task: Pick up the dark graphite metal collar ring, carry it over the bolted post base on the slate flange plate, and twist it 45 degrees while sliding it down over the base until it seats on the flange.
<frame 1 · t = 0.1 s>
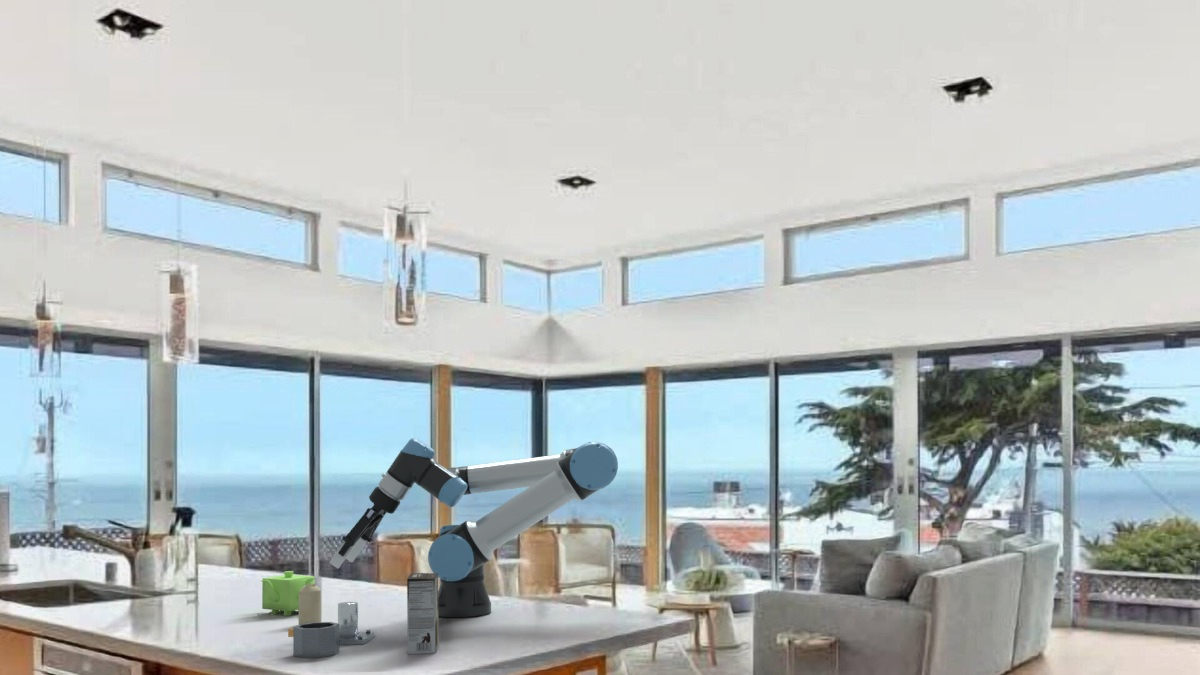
hand: (340, 562, 275), 15 cm above the counter, tool tilted 35°, fingers open, 13 cm apart
candle: (309, 625, 275), on the counter
bolted post base: (348, 640, 250), on the counter
collar: (316, 653, 235), on the counter
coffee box: (423, 650, 237), on the counter
kettle: (287, 614, 295), on the counter
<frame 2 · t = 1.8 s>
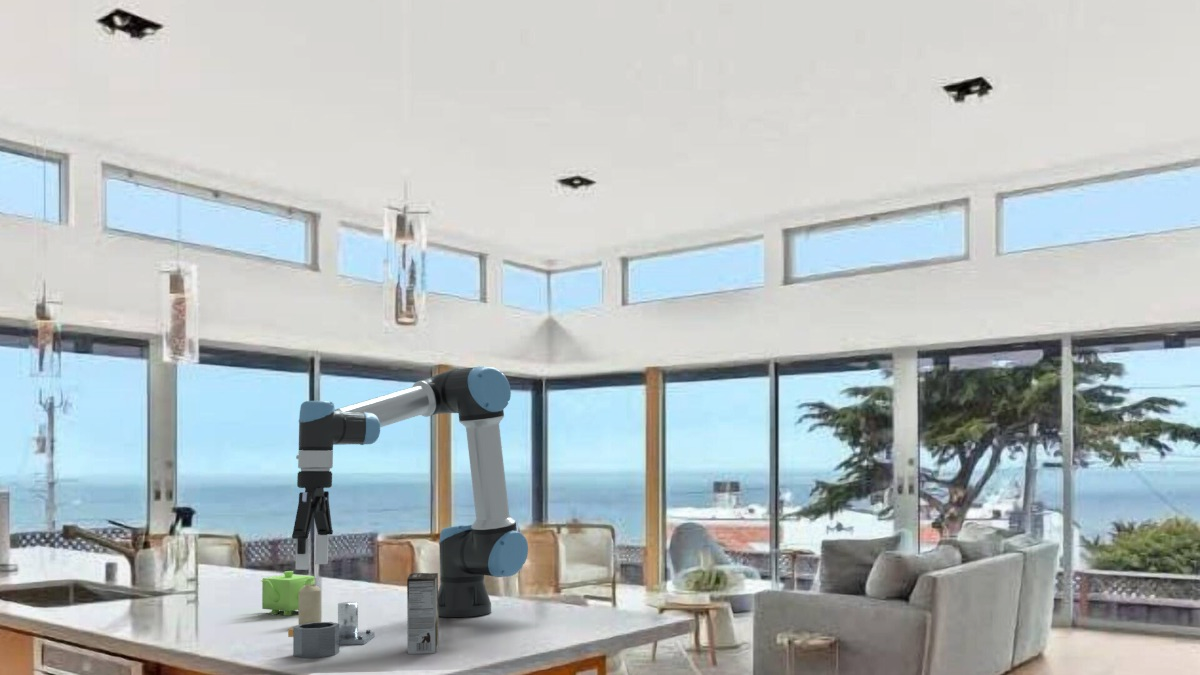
hand: (312, 566, 239), 18 cm above the counter, tool pointing down, fingers open, 13 cm apart
nothing on the counter moved.
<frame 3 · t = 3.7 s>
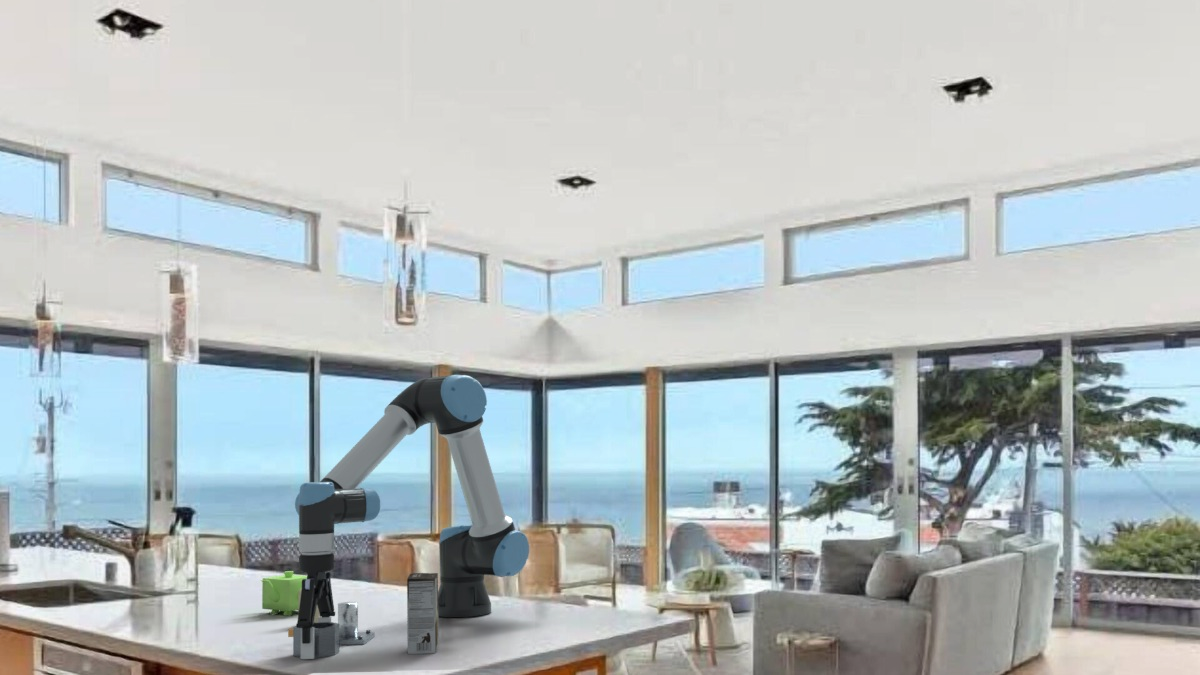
hand: (316, 652, 235), 0 cm above the counter, tool pointing down, fingers open, 12 cm apart
nothing on the counter moved.
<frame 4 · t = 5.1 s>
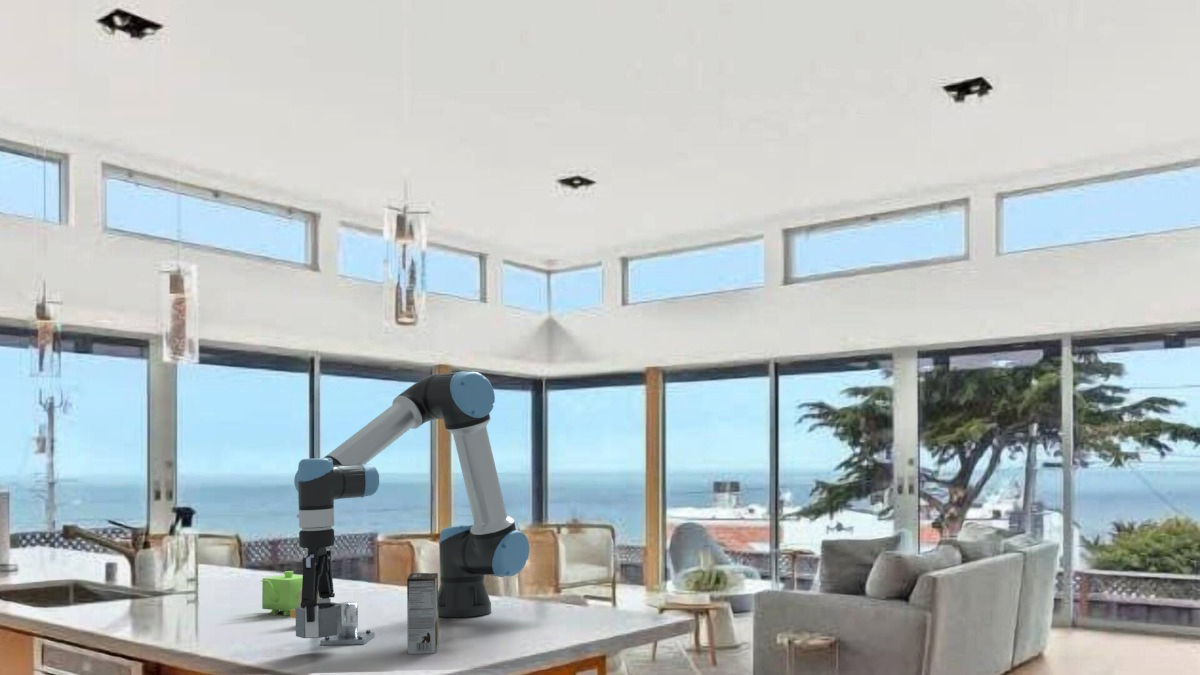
hand: (318, 632, 236), 4 cm above the counter, tool pointing down, fingers closed on collar, 9 cm apart
collar: (319, 633, 236), point 4 cm above the counter, touching gripper
everything else where it was.
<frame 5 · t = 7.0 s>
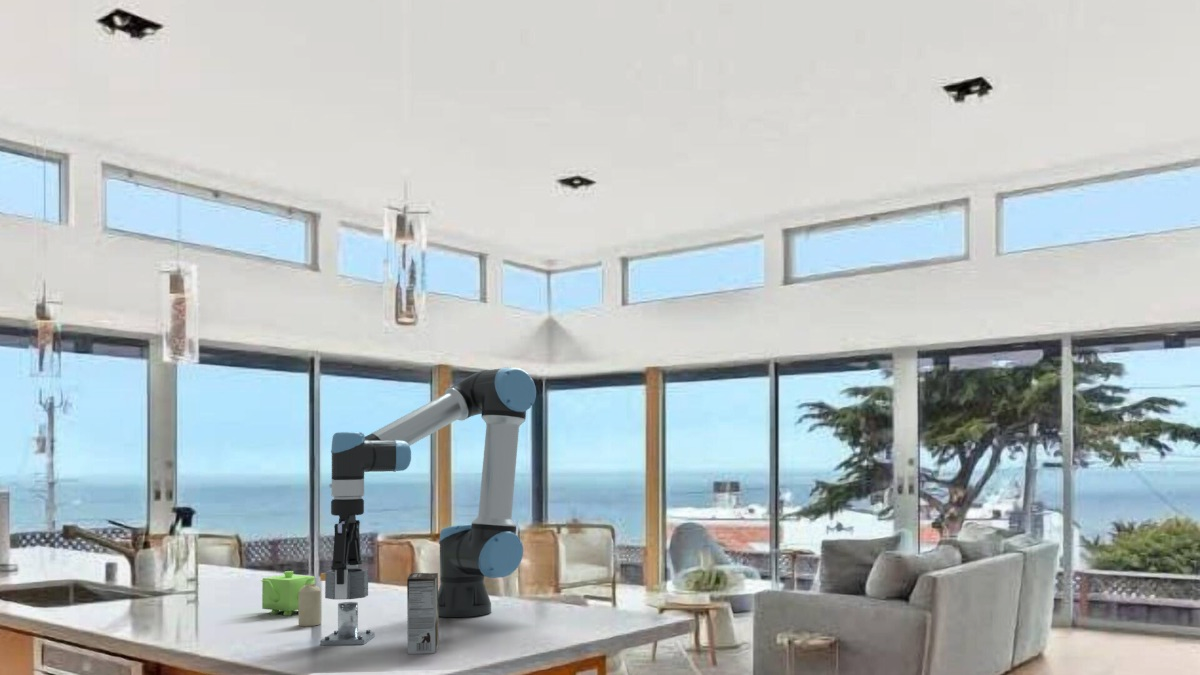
hand: (346, 595, 251), 10 cm above the counter, tool pointing down, fingers closed on collar, 9 cm apart
collar: (346, 596, 251), point 10 cm above the counter, touching gripper
everything else where it was.
when the fingers open (2 cm above the counter, at t = 9.1 s): collar drops 1 cm, resting on bolted post base.
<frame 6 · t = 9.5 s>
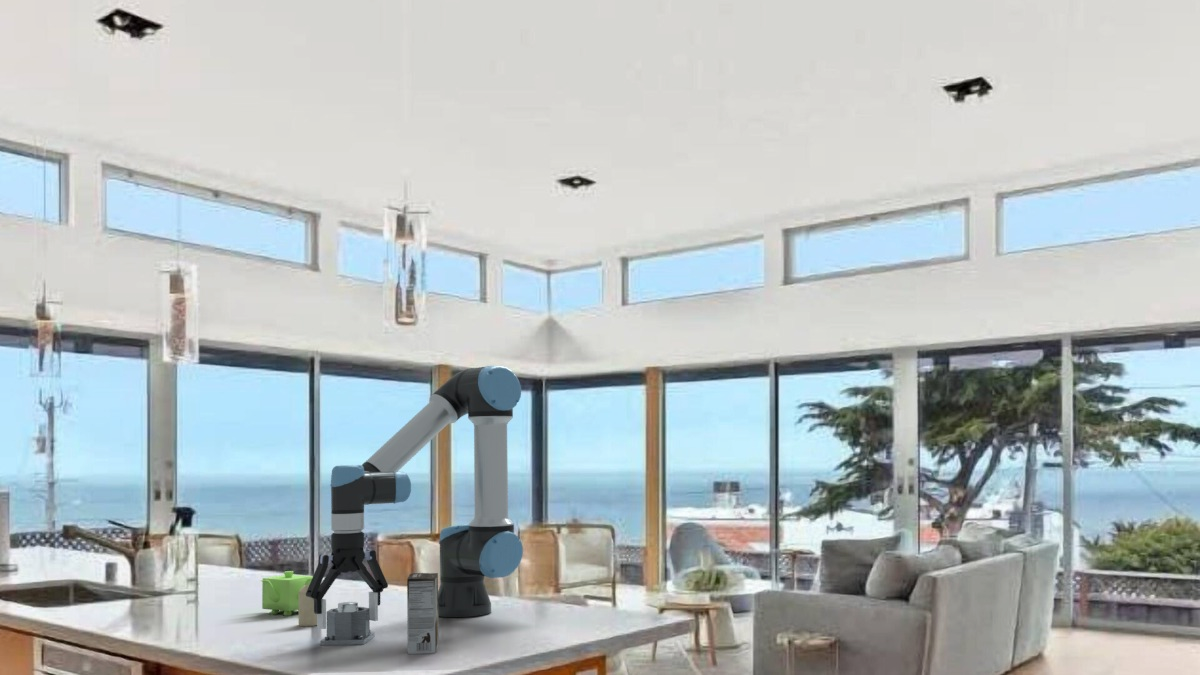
hand: (347, 624, 251), 4 cm above the counter, tool pointing down, fingers open, 13 cm apart
collar: (348, 636, 250), point 1 cm above the counter, touching bolted post base
everything else where it was.
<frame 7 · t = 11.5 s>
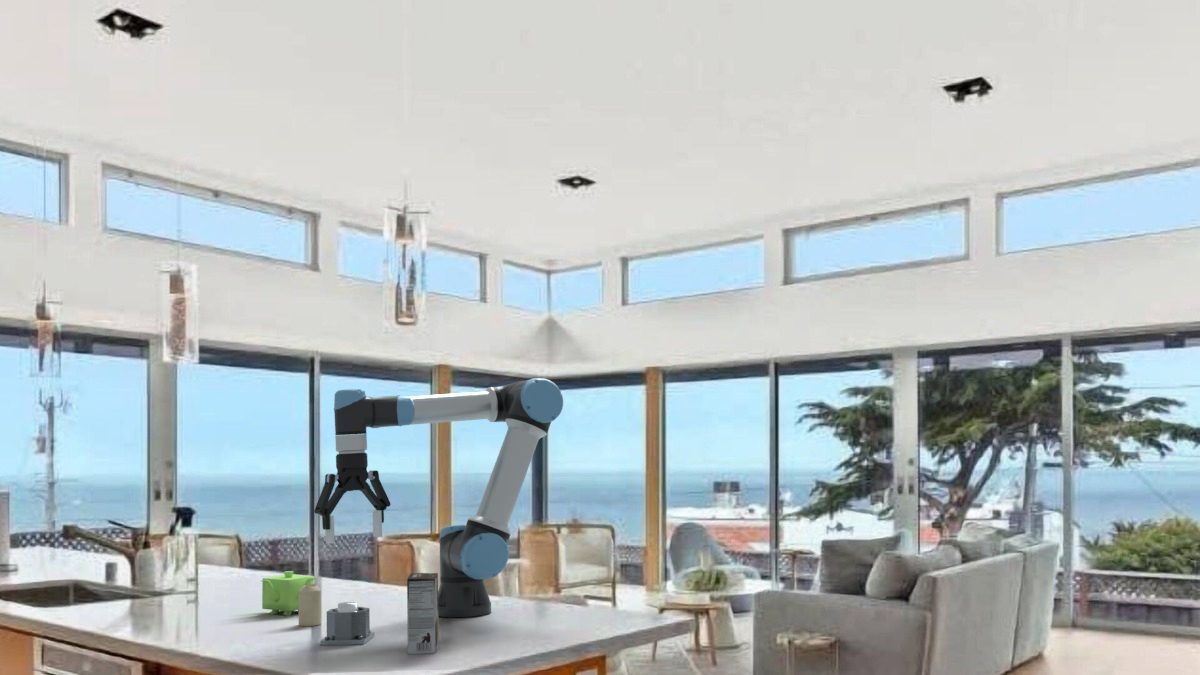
hand: (354, 540, 263), 22 cm above the counter, tool pointing down, fingers open, 13 cm apart
nothing on the counter moved.
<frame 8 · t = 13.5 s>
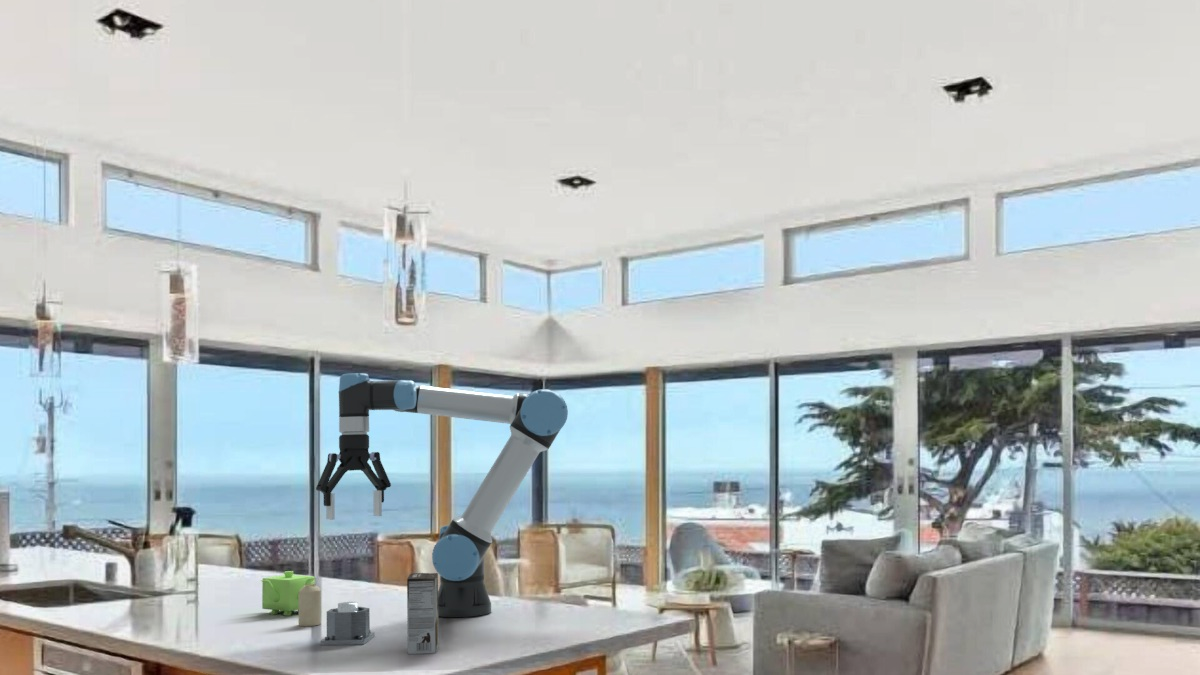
hand: (354, 517, 275), 27 cm above the counter, tool pointing down, fingers open, 13 cm apart
nothing on the counter moved.
at the end: collar 0.1 cm off-centre on the bolted post base, point 1.0 cm above the bolted post base's base; the gripper is holding nothing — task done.
